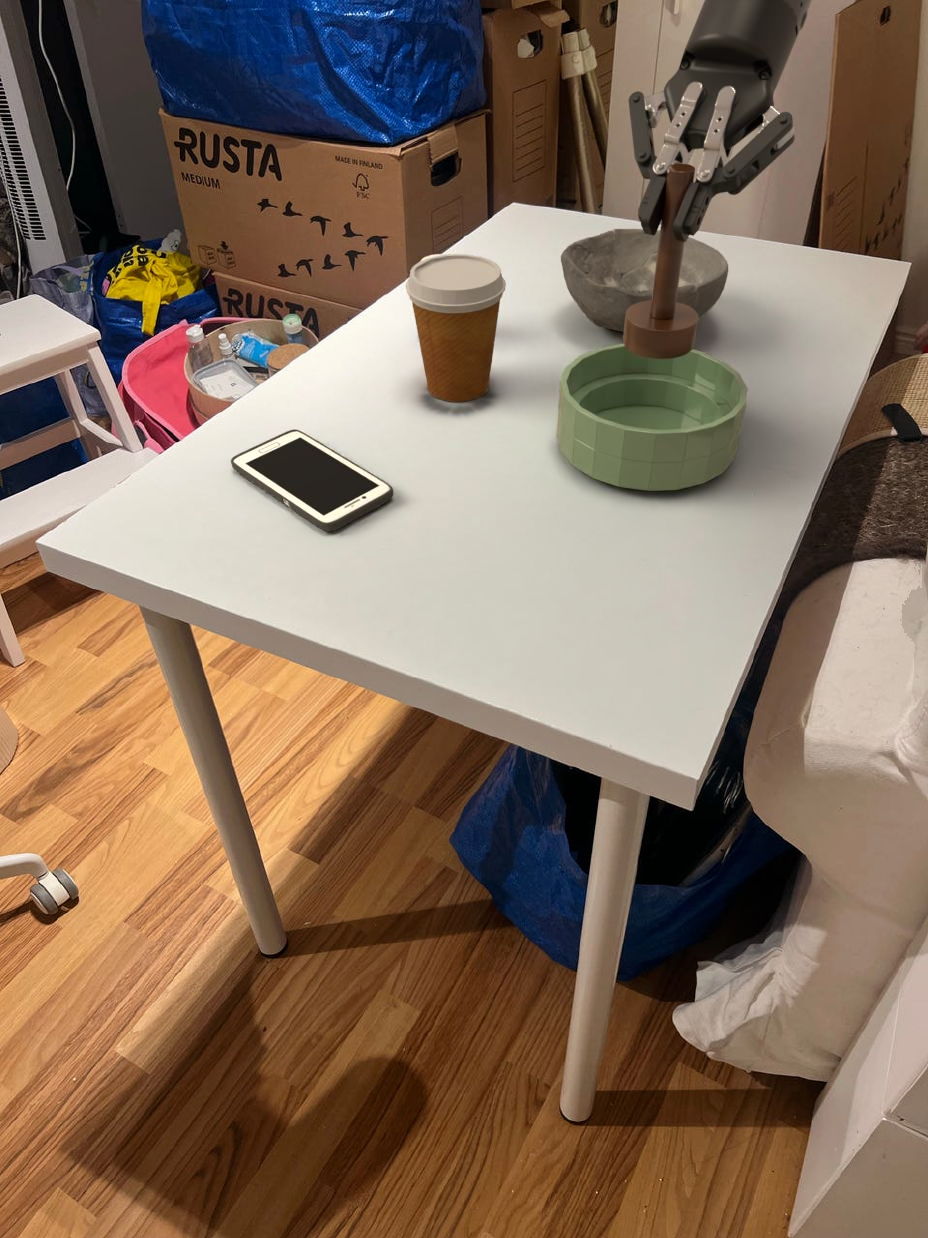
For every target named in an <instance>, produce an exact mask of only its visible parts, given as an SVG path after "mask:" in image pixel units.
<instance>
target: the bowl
mask: <svg viewBox="0 0 928 1238" xmlns="http://www.w3.org/2000/svg"><path fill="white" fill-rule="evenodd" d="M659 237H660V230H659V229H658V230H657V232H656V234H655V235H654V236H653V235H648V234H645V233H644V231H643V228H613V229H611V230H608V231H605V232H602V233H600V234H598V235H593V236H589V237H585V238H583V239H582V238H581V239H578V240H576V241H574V242H572V243H571V244H569V245H568V246H567V247H566V248H565V249H564V250H563V252H562V253H561V255H560V263H561V266H562V273H563V278H564V282H565V284H566V288H567V291H568V292H569V294H570V296H571V298H572V299H573V301H574V302H575V304H577V306H578V308H579V309H580V311H581V312H582V313H583V314H584V316H586V318H587V319H589V321H590V322H592V323H593V324H595V325H596V326H598V327H602V328H606V329H609V330H611V331H617V332H622V333H624V324H625V315H626V311H627V309H628V308H629V307H630V306H632V305H634V304H636V303H639V302H642V301H648V300H652V293H653V285H654V277H655V269H656V261H657V253H658V245H659ZM728 275H729V263H728V261H727V259H726V257H725V256H724V255H723V254H722V253H721V252H720V251H719V250H718V249H716V248H715V247H713V246H710V245H709V244H707V243H705V242H703V241H700V240H697V239H696V238H693V237H688V239H687V241H686V242H685V243H684V250H683V257H682V264H681V271H680V278H679V285H678V292H677V299H676V302H679V303H682V304H685V305H687V306H689V307H691V308H692V309H694V310H695V311H696V312H697V314H698V320H699V319H701V318H702V317H703V316H704V315H706V314H707V313H708V312H709V311H710V310H712V308H713V307H714V305H715V304H716V303H717V302H718V300H719V299H720V297H721V296H722V293H723V292H724V289H725V287H726V283H727V280H728Z"/></svg>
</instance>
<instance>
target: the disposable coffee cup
mask: <svg viewBox="0 0 928 1238" xmlns="http://www.w3.org/2000/svg"><path fill="white" fill-rule="evenodd" d="M506 287H507V282H506V279H505V278H504V277H503V274H502V269H501V268H500V266H499V264H498V263H496V262H494V261H493V260H492V259H489V258H486V257H484V256H479V255H474V254H465V253H462V254H461V253H450V254H445V255H440V256H436V257H432V258H428V259H425V260H423V261H421V260H420V261H419V262H417V263H416V264H414V265H413V266H412V267H411V269H410V272H409V277H408V280H407V281H406V283H405V290H406V294H407V295H408V297H409V300H410V301H411V303H412V309H413V314H414V315H413V316H414V320H415V325H416V330H417V336H418V340H419V341H418V342H419V348H420V353H421V357H422V364H423V370H424V375H425V380H426V386H427V390H428V392H429V394H430V395H432V397H434V398H436V399H439V400H442V401H446V402H452V403H454V402H456V403H458V402H469V401H472V400H476V399H478V398H481V397H483V396H484V395H486V393H487V392H488V390H489V387H490V378H491V371H492V363H493V355H494V347H495V341H496V335H497V334H496V333H497V325H498V319H499V312H500V304H501V299H502V297H503V295H504V292H505V291H506Z"/></svg>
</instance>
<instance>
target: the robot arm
mask: <svg viewBox="0 0 928 1238" xmlns="http://www.w3.org/2000/svg"><path fill="white" fill-rule="evenodd" d="M812 1H813V0H704V1H703V4H702V6H701V9H700V11H699V13H698V17H697V19H696V21H695V23H694V26H693V28H692V31H691V32H690V35H689V38H688V41H687V43H686V45H685V48H684V50H683V53H682V57H681V59H680V63H679V66H678V69H677V71H675V73H674V75H672V77H671V78H670V79H669V80H668V81H667V82H666V83H665V86H664V87H663V90H661V91H659V92H656V93H653V94H650V95H647V96H645V95H644V93H643V92H642V91H638V90H637V91H634V92H632V93H631V95H630V96H629V97H628V109H629V118H630V125H631V126H630V127H631V128H630V129H631V135H632V145H633V146H632V147H633V153H634V155H633V156H634V159H635V162H636V165H637V168H638V170H639V172H640V175H641V176H642V179H645V180H649V182H648V184H647V187H646V189H645V192H644V194H643V196H642V200H641V202H640V203H639V207H638V208H637V217H638V220H639V222H640V226H641V229H642V230H643V231H644V233H645V234H648V235H653V236H654V235H655V234H656V232H657V230H659V228H660V226H661V221H662V213H663V205H664V197H665V189H666V181H667V173H668V167H669V166H670V165H673V164H688V165H689V162H690V160H691V158H692V156H693V154H694V153H695V150H701V149H703V152H702V156H701V159H700V162H699V164H698V168H697V171H696V178H695V181H693V182H690V185H689V187H688V189H687V192H686V194H685V197H684V199H683V202H682V204H681V207H680V209H679V211H678V214H677V216H676V219H675V221H674V224H673V229H672V230H673V234H674V236H675V239H676V240H677V241H682V242H686V241H687V239H688V237H689V236H693V237H694V236H695V234H696V233H697V232H699V230H700V228H701V225H702V222H703V220H704V218H705V216H706V213H707V211H708V208H709V206H710V203H711V201H712V199H713V198H714V197H715V196H716V195H719V194H724V193H728V194H729V195H732V196H736V195H738V194H740V193H742V191H744V189H745V188H747V186H749V185H750V184H751V183H752V182H753V181H754V180H755V179H756V178H757V177H758V176H759V175H761V173H763V172H764V171H765V169H767V168H768V167H769V166H770V165H771V164H772V163H774V162H775V160H777V159H778V158H779V157H780V156H781V155H782V154H783V153H784V152H785V151H786V150H787V149H788V148H789V147H791V146H792V145H793V144H794V142H795V139H796V135H795V125H794V119H793V115H792V114H791V112H788V111H782V112H780V111H779V110H778V109H776V107H775V103H774V102H775V101H774V93H775V91H776V89H777V87H778V85H779V82H780V79H781V77H782V75H783V73H784V70H785V67H786V65H787V63H788V60H789V58H790V55H791V53H792V51H793V48H794V46H795V43H796V41H797V39H798V36H799V34H800V31H802V29H803V28H804V25H805V23H806V20H807V17H808V12H809V9H810V6H811V3H812ZM665 110H666V112H667V114H668V119H669V122H670V124H669V127H668V128H667V130H666V132H665V134H664V138H663V145H662V146H661V149H660V151H659V152H658V155H656V150H655V141H654V133H653V129H656V128H657V127H658V124H659V123H660V120H661V114H662V113H663V112H664V111H665ZM756 130H757V134H756V135H755V136H754V137H753V138H752V139H750V141H749V142H748V143H746V145H744V146H743V147H742V149H741V150H739V151H738V152H737V153H736V154H735V155H734V156H732V154H733V151H734V148H735V146H736V145H737V144H739V143H740V142H742V141H743V140H744V139H745V138H746V137H748V136H749V135H750V134H752V133H753V132H754V131H756ZM731 157H732V158H731Z"/></svg>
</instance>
